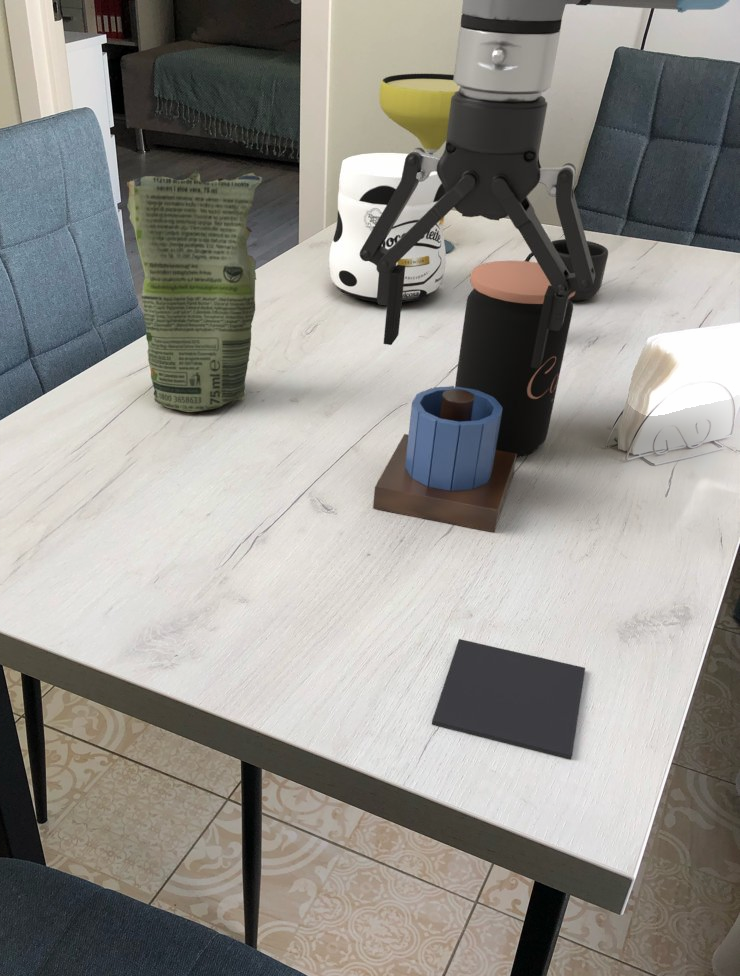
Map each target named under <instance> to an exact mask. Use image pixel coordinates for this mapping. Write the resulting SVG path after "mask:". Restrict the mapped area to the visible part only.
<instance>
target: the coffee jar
mask: <svg viewBox="0 0 740 976" xmlns="http://www.w3.org/2000/svg"><path fill="white" fill-rule="evenodd" d="M469 277H470V284H471V287H472V289H471V291H470V293H469V294H468V296H467V299H466V304H465V311H464V312H465V313H464V318H463V326H462V333H461V340H460V348H459V354H458V362H457V369H456V377H455V384H454V388H455V387H462V388H468V389H474V390H479V391H481V392H483V393H485V394H488V395H490V396H492V397H494V398H495V399H496V400H497V401H498V403H499V404H500V405H501V406H502V415H501V421H500V427H499V433H498V439H497V445H496V450H499V451H505V452H511V453H516V454H517V457H516V459H517V458H523V457H525V456H529V455H532V454H533V453H534V452H535V451H537V449H539V447H540V446H541V445H543V444H544V443H545V441H546V440H547V439H546V438H547V436H548V432H549V427H550V423H551V418H552V413H553V408H554V404H555V399H556V394H557V388H558V384H559V379H560V374H561V370H562V365H563V360H564V355H565V351H566V345H567V340H568V336H569V331H570V326H571V323H572V322H571V321H572V316H573V311H574V304H573V303H572V302H573V301H570V299H571V297H572V296H574V295H575V292H573V293H571V294H570V295H569V298H568V303H567V307H566V312H565V317H564V321H563V324H562V327H561V328H560V330H559V331H555V330H548V335H547V340H546V345H545V350H544V355H543V359H542V362H541V365H540V368H539V369H538V368H532V367H531V363H532V358H533V353H534V348H535V343H536V337H537V332H538V327H539V322H540V317H541V312H542V307H543V301H544V296H545V293H546V291H547V288H548V286H549V285H550V286H551V284H550V282H549V280H548V279H547V277H546V275H545V274H544V272H543V270H542V269H541V267H540V265H539V264H538V262H534V261H529V262H527V261H525V260H497V261H490V262H487V263H486V262H485V263H482V264H480V265H477V266H476V267H474V268H473V269H472V271H471V273H470V276H469Z"/></svg>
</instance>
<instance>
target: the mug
mask: <svg viewBox="0 0 740 976" xmlns="http://www.w3.org/2000/svg"><path fill="white" fill-rule="evenodd" d="M586 241H587V244H588V248H589V252H590V256H591V259H592V263H593V267H594V271H595V279H594V282H593V285H592V288H591V289H590V290H588V291H582V290H580V291H576V292H575V295H574V296H572V297H571V299H570V301H571V302H581V301H585V300H587V299H592V298H593V297H595V296H596V295H597V294H598V292H599V291H600V290H601V288H602V285H603V280H604V275H605V271H606V266H607V261H608V258H609V249H608V248H607V247H605V246H604V245H602V244H600V243H597V242H594V241H589V240H586ZM551 242H552V244H553V245H554V247H555V249H556V251H557V252H558V254H559V256H560V257H561V259H562V261H563V263H564V264H565V266H566V268H567V270H568V271H569V273H570V274H571V273H574V269H573V266H572V262H571V258H570V255H569V251H568V248H567V244H566V240H565V238H563V239H556V240H552V241H551ZM533 257H534V255H533V253H532V252H531V251H530V253H529V254H528V255H527V256H526V258H525V260H524V261H527V262H530V261H531V259H532V258H533Z"/></svg>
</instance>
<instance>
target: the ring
mask: <svg viewBox="0 0 740 976" xmlns="http://www.w3.org/2000/svg"><path fill="white" fill-rule="evenodd" d="M450 389H462V390H466V391H469V392H471V393H472V394H473V395H474V403H473V410H472V417H471V421H463V422H458V421H452V420H446V419H440V411H441V403H442V395H443V393H444V392H445V391H447V390H450ZM501 415H502V406H501V405H500V404H499V403H498V401H497V400H496V399H495V398H494V397H492V396H490V395H488V394H485V393H483V392H481V391H479V390H474V389H468V388H462V387H455V385H450V386H437V387H436V386H435V387H431V388H429V389H425V390H422V391H420V392H418V393H416V395H415V397H414V399H413V400H412V402H411V407H410V416H409V417H410V419H409V427H408V444H407V454H406V463H405V468H406V469H407V471H408V473H409V475H410V476H411V477H412V479H414V480H416V481H418V482H420V483H422V484H424V485H426V486H429V487H431V488H437V489H442V490H447V491H450V490H451V491H460V490H472V488H473V489H475V488H477V487H479V486H481V485H483V484H485V483H487V482H488V481H489V478H490V475H491V473H492V468H493V462H494V456H495V450H496V445H497V439H498V433H499V427H500V421H501Z"/></svg>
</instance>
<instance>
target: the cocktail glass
mask: <svg viewBox="0 0 740 976" xmlns="http://www.w3.org/2000/svg"><path fill="white" fill-rule="evenodd" d="M453 79H454V74H450V73H449V74H446V73H405V74H404V73H403V74H395V75H389V76H386V77H384V78H383V79H382V80H381V82H380V87H379V95H378V96H379V97H378V98H379V105H380V109H381V110H382V112H383V113H384V114H385V115H386V116H387V117H388V118H389V119H390V120H391V121H392V122H394V123H395V124H396V125H398V126H400V127H401V128H403V129H404V130H406V131H407V132H409V133H411V134H412V135H413V136H414V137H416V138H417V139H418V140H419V142H420V144H421V146H422V149H423V150H424V151H425V152H426V153H427V154H431V155H434V154H435V153H437V152H439V151H440V149H441V147H442V146H443V145H444V144H445V143H446V138H447V130H448V122H449V113H450V105H451V97H452V96H453V95H454V94H455V92H457V91H459V88H460V87H459V86H457V85H456V83H455V82H454V80H453ZM444 244H445V251H446V254H448V253H450V252H452V251H453V249H454V244H453V243H452V242H451V241H449V240H447V239H445V238H444Z"/></svg>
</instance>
